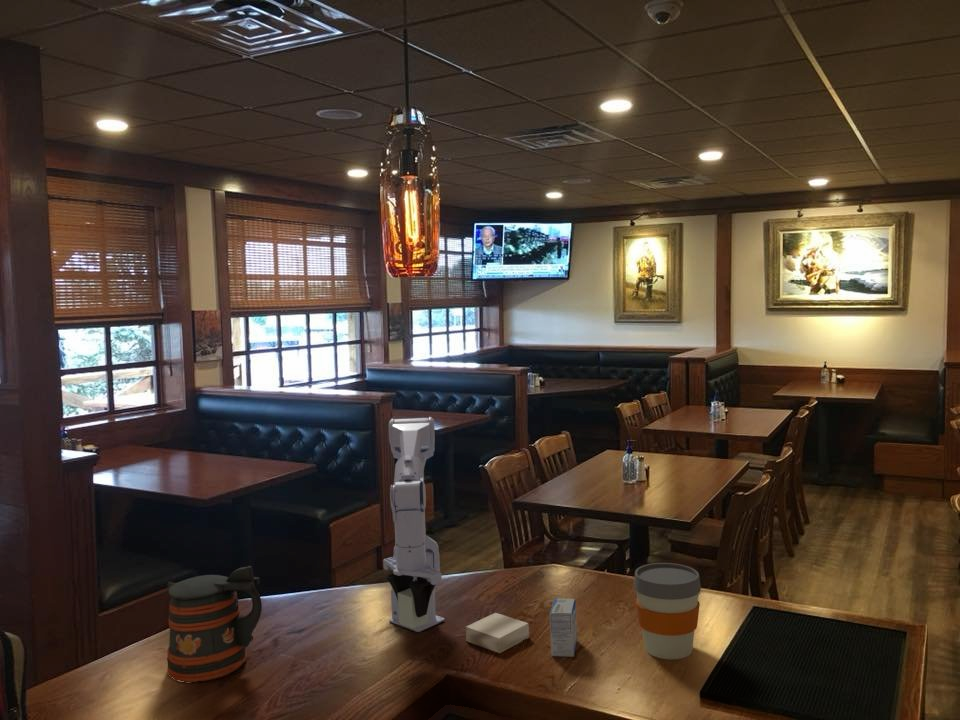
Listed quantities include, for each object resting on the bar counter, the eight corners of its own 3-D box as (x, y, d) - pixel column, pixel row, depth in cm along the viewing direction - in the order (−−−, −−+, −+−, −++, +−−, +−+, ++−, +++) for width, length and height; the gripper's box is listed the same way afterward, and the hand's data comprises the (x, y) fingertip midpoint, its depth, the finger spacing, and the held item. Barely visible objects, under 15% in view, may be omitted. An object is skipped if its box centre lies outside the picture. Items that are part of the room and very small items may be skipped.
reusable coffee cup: (706, 640, 157) (705, 566, 156) (695, 668, 145) (694, 588, 144) (643, 631, 162) (641, 559, 161) (628, 657, 151) (626, 580, 150)
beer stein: (279, 648, 161) (273, 552, 159) (254, 683, 146) (247, 577, 145) (187, 649, 162) (180, 553, 160) (153, 684, 147) (146, 579, 146)
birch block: (466, 641, 161) (465, 626, 161) (495, 626, 167) (495, 612, 167) (499, 653, 155) (499, 638, 154) (529, 637, 161) (528, 623, 161)
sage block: (399, 623, 153) (397, 592, 152) (414, 616, 156) (413, 586, 155) (413, 628, 150) (411, 597, 149) (428, 621, 153) (427, 591, 152)
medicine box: (574, 658, 152) (572, 613, 151) (550, 656, 152) (549, 612, 152) (577, 640, 159) (576, 598, 159) (555, 639, 160) (553, 597, 159)
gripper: (369, 541, 154) (373, 609, 155) (420, 556, 144) (424, 629, 145) (397, 532, 159) (400, 598, 160) (448, 546, 149) (451, 616, 150)
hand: (413, 612), depth 153 cm, fingers closed on sage block, 4 cm apart
